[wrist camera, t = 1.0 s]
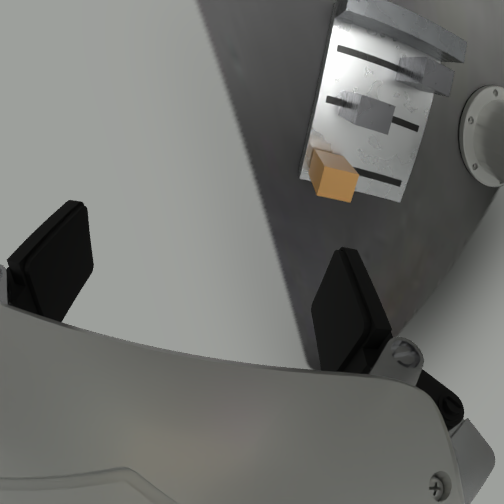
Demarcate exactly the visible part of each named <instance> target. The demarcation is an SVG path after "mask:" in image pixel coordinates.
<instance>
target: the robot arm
mask: <svg viewBox="0 0 504 504" xmlns="http://www.w3.org/2000/svg"><path fill="white" fill-rule="evenodd" d="M459 142H460V150H461V154H462V158H463V161H464V163H465V166H466V167H467V169H468V171H469V172H470V174H471V175H472V176H473V177H474V178H475V179H476V180H478V181H479V182H480V183H482V184H484V185H486V186H489V187H500V186H503V185H504V88H503V87H499V86H494V85H489V86H484V87H482V88H480V89H478V90H477V91H476V92H475V93H473V94H472V96H471V97H470V98H469V100H468V101H467V103H466V106H465V108H464V110H463V113H462V117H461V122H460V128H459ZM7 262H8V265H9V267H8V268H7V269H5V267H3V266H2V265H0V504H470V503H471V501H472V500H473V499H474V497H475V496H476V495H477V493H478V492H479V490H480V489H481V487H482V486H483V484H484V483H485V481H486V479H487V478H488V476H489V474H490V473H491V471H492V469H493V467H494V465H495V456H494V452H493V450H492V449H491V447H490V446H489V445H488V443H487V442H486V441H485V439H484V438H483V437H482V436H481V435H480V433H479V432H478V430H477V429H476V428H475V427H474V425H473V424H472V423H471V422H470V420H469V419H468V418H467V419H466V420H464V419H463V417H464V409H463V405H462V402H461V400H460V399H459V397H458V396H457V395H455V394H454V393H453V392H452V391H450V390H449V389H448V388H446V387H445V386H444V385H443V384H441V383H440V382H438V381H437V380H436V379H435V378H433V377H432V376H431V375H429V374H428V373H427V372H425V371H424V370H422V367H423V363H424V358H423V354H422V353H421V350H420V349H419V348H418V346H417V345H416V344H414V343H413V342H412V341H410V340H408V339H406V338H403V337H394V338H393V336H392V333H391V330H392V328H391V326H390V323H389V321H388V319H387V316H386V314H385V311H384V309H383V307H382V304H381V302H380V299H379V297H378V295H377V293H376V290H375V288H374V286H373V284H372V281H371V279H370V277H369V275H368V272H367V270H366V268H365V266H364V264H363V262H362V260H361V258H360V255H359V253H358V251H357V250H355V249H350V248H345V247H341V248H340V249H339V250H336V251H335V252H334V254H333V256H332V259H331V261H330V264H329V266H328V268H327V271H326V273H325V276H324V278H323V280H322V283H321V285H320V287H319V289H318V292H317V294H316V296H315V299H314V301H313V303H312V308H311V312H312V318H313V324H314V329H315V335H316V341H317V347H318V353H319V359H320V365H321V371H320V370H308V369H296V368H286V367H276V366H267V365H259V364H251V363H243V362H236V361H229V360H222V359H216V358H210V357H204V356H198V355H192V354H187V353H182V352H176V351H171V350H166V349H162V348H157V347H152V346H148V345H143V344H139V343H135V342H130V341H126V340H122V339H118V338H114V337H110V336H107V335H103V334H99V333H96V332H92V331H88V330H85V329H81V328H78V327H75V326H71V325H68V324H65V323H62V320H63V319H64V317H65V315H66V313H67V312H68V310H69V308H70V307H71V305H72V303H73V302H74V300H75V298H76V297H77V295H78V293H79V292H80V290H81V289H82V287H83V286H84V284H85V283H86V281H87V279H88V278H89V276H90V275H91V273H92V271H93V265H94V264H93V257H92V250H91V241H90V232H89V222H88V211H87V207H86V206H84V204H83V202H79V201H72V200H69V201H67V202H66V203H65V204H64V205H63V206H62V207H60V209H58V210H57V211H56V212H55V213H54V214H53V215H51V216H50V217H49V218H48V219H47V220H46V221H45V222H44V223H43V224H42V225H41V226H40V227H39V228H38V229H37V230H35V232H34V233H32V234H31V235H30V236H29V237H28V239H26V240H25V241H24V242H23V244H22V245H20V247H19V248H18V249H17V250H16V251H15V252H14V253H13V254H12V255H11V256H10V257H9V258H8V259H7Z"/></svg>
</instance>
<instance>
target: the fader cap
mask: <svg viewBox="0 0 504 504" xmlns="http://www.w3.org/2000/svg"><path fill="white" fill-rule="evenodd" d="M308 174H309V177H310V179H311V182H312V184H313V187H314V189H315V192H316V194H317V196H322V197H327V198H332V199H336V200H341V201H345V202H350V203H351V199H352V196H353V193H354V190H355V187H356V184H357V181H358V177H359V174H358V173H357V171H356V170H355V169H354V168H353V167H352V166H351V164H350V163H349V162H348V161H347V160H346V159H345V158H344V156H341V155H337V154H333V153H328V152H324V151H320V150H315V149H314V152H313V156H312V160H311V164H310V168H309V172H308Z"/></svg>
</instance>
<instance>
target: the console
mask: <svg viewBox="0 0 504 504" xmlns="http://www.w3.org/2000/svg"><path fill="white" fill-rule="evenodd" d="M466 46H467V42H466V41H464V40H463V39H461V38H459V37H458V36H456V35H455V34H453V33H451V32H449V31H448V30H446V29H444V28H443V27H441V26H439V25H437V24H435V23H433V22H432V21H430V20H428V19H426V18H424V17H422V16H420V15H418V14H416V13H414V12H412V11H409V10H407V9H405V8H403V7H401V6H398V5H396V4H394V3H391V2H389V1H386V0H337V1H336V2H335V3H334V6H333V11H332V16H331V21H330V26H329V32H328V37H327V42H326V47H325V51H324V56H323V61H322V66H321V71H320V76H319V80H318V85H317V90H316V94H315V99H314V103H313V108H312V112H311V117H310V121H309V126H308V130H307V135H306V139H305V144H304V148H303V152H302V156H301V161H300V165H299V169H298V175H299V179H304V180H309V181H311V179H310V177H309V174H308V172H309V168H310V164H311V160H312V156H313V152H314V149H315V150H320V151H324V152H328V153H333V154H337V155H341V156H344V158H345V159H346V160H347V161H348V162H349V163H350V164H351V166H352V167H353V168H354V169H355V170H356V171H357V173H358V174H359V177H358V181H357V184H356V187H355V190H354V191H358V192H362V193H366V194H370V195H374V196H378V197H381V198H385V199H389V200H393V201H396V202H400V201H401V198H402V196H403V193H404V190H405V188H406V185H407V182H408V179H409V176H410V173H411V170H412V167H413V164H414V161H415V158H416V155H417V152H418V149H419V146H420V143H421V139H422V136H423V133H424V129H425V126H426V122H427V118H428V115H429V111H430V107H431V103H432V99H433V95H434V94H438V95H442V96H446V97H449V95H450V91H451V86H452V82H453V77H454V72H455V71H453V70H451V69H449V68H448V67H446V66H444V65H442V64H440V63H441V62H458V63H464V58H465V52H466Z"/></svg>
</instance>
